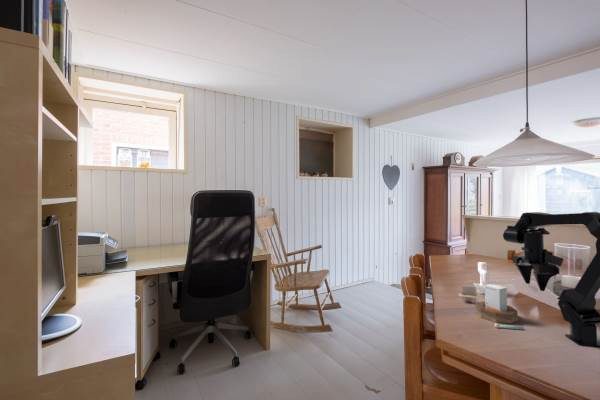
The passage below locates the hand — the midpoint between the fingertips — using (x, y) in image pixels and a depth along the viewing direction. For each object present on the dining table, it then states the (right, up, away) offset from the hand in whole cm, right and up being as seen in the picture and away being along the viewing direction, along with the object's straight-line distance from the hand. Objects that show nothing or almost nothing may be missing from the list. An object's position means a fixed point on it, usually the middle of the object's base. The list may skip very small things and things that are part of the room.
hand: (534, 287), depth 105 cm
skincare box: (-11, -14, +5) cm, 18 cm away
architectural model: (-11, -14, +22) cm, 28 cm away
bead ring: (-11, -13, +5) cm, 18 cm away
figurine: (+3, -14, +34) cm, 37 cm away
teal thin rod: (-13, -13, -5) cm, 19 cm away
